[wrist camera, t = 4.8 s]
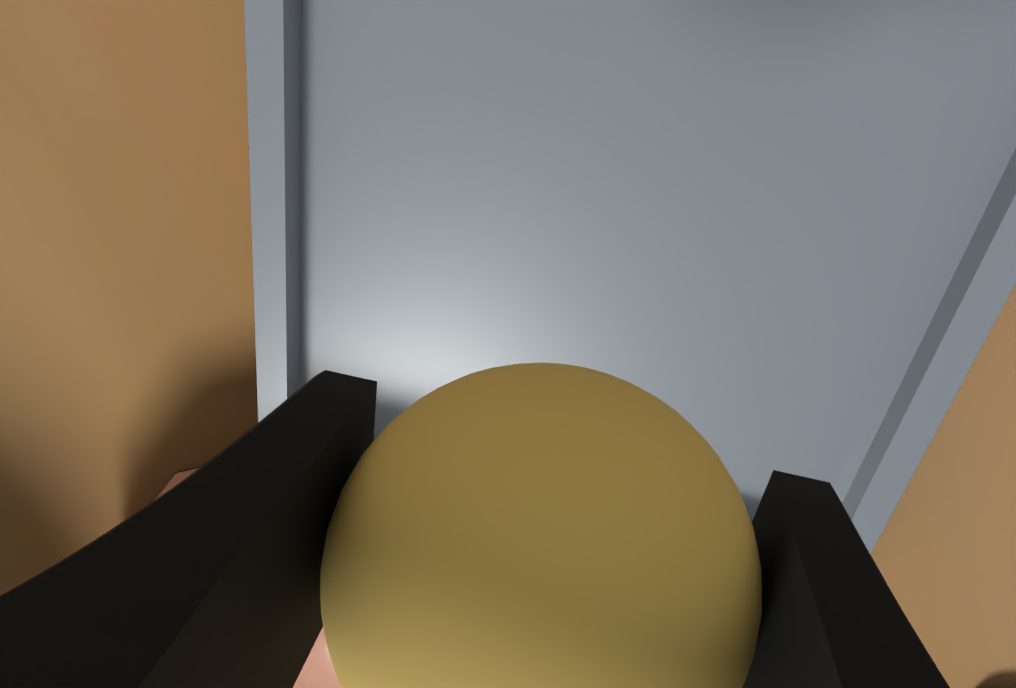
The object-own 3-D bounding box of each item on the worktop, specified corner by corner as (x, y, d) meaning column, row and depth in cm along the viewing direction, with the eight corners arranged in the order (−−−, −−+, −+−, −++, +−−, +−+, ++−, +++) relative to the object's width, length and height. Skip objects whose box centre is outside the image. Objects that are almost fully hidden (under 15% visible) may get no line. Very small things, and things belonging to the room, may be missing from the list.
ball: (805, 334, 10) (870, 691, 6) (692, 597, 12) (691, 956, 9) (406, 243, 10) (244, 539, 6) (375, 520, 12) (248, 843, 9)
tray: (1161, -80, 12) (1202, -63, 11) (841, 548, 19) (848, 593, 18) (273, -235, 13) (237, -232, 12) (282, 419, 20) (259, 456, 19)
